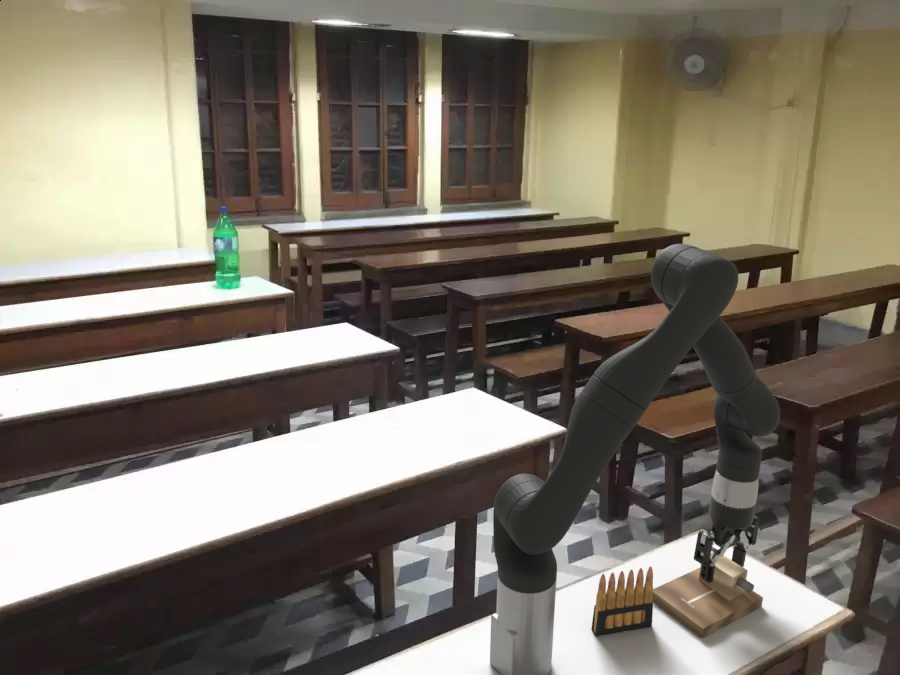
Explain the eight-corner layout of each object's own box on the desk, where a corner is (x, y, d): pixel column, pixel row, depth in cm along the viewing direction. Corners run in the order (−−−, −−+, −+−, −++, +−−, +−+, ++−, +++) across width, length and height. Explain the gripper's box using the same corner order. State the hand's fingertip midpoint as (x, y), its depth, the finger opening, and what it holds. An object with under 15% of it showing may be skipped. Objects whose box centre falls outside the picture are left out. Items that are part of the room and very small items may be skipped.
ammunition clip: (595, 636, 127) (600, 578, 123) (591, 629, 128) (595, 571, 124) (652, 626, 129) (658, 569, 125) (646, 619, 131) (653, 562, 127)
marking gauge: (741, 608, 130) (744, 585, 129) (688, 572, 140) (691, 550, 139) (755, 601, 132) (759, 577, 131) (702, 566, 142) (705, 544, 141)
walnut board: (701, 638, 126) (703, 628, 126) (650, 599, 136) (651, 590, 135) (761, 606, 134) (763, 597, 134) (708, 571, 144) (709, 563, 143)
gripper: (724, 516, 124) (712, 597, 129) (777, 494, 131) (764, 571, 136) (689, 496, 130) (679, 574, 135) (742, 476, 137) (730, 551, 142)
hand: (722, 572), depth 135 cm, fingers open, 8 cm apart
